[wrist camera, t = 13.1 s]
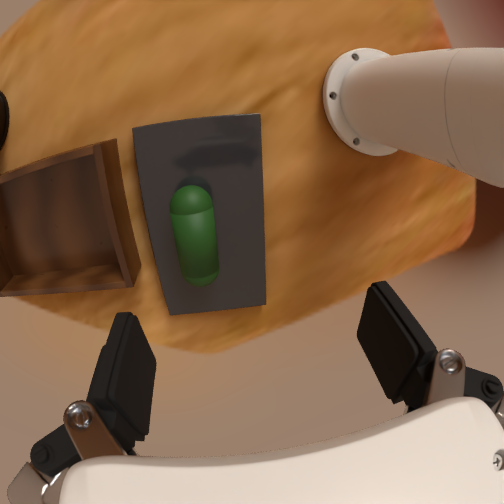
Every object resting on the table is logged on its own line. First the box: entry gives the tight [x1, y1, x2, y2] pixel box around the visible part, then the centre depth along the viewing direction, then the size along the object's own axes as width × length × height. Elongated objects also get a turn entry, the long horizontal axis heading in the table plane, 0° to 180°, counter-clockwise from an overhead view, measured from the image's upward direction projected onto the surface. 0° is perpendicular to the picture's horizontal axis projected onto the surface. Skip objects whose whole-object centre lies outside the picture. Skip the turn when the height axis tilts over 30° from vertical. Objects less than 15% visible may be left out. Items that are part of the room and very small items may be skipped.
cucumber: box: [169, 185, 220, 287], centre depth 26 cm, size 4×10×4 cm, turn 2°
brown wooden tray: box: [0, 139, 141, 297], centre depth 24 cm, size 22×15×4 cm
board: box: [132, 113, 266, 315], centre depth 29 cm, size 12×22×2 cm, turn 3°
